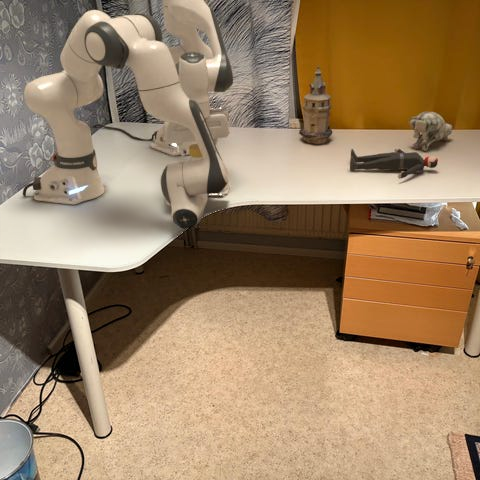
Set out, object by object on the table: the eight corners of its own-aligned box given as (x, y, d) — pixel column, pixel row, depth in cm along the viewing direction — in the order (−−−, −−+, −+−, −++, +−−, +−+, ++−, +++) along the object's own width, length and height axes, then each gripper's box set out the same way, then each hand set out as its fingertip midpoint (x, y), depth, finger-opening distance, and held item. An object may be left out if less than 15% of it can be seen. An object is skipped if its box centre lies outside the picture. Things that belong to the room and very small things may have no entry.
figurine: (439, 162, 206) (463, 135, 215) (427, 119, 197) (453, 93, 206) (416, 162, 213) (441, 135, 222) (404, 120, 204) (430, 94, 213)
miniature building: (320, 132, 228) (325, 59, 214) (338, 142, 217) (344, 66, 203) (293, 137, 224) (296, 63, 209) (310, 147, 213) (314, 69, 198)
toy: (351, 141, 203) (434, 141, 197) (350, 156, 206) (432, 157, 200) (349, 166, 181) (443, 167, 175) (349, 183, 184) (441, 185, 178)
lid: (208, 155, 167) (208, 148, 165) (191, 157, 165) (190, 150, 164) (204, 150, 171) (204, 143, 170) (188, 151, 170) (187, 144, 169)
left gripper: (227, 186, 159) (231, 169, 171) (159, 185, 160) (168, 168, 172) (228, 205, 162) (231, 187, 174) (161, 204, 163) (169, 186, 175)
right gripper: (225, 103, 167) (226, 146, 174) (160, 110, 161) (164, 154, 168) (231, 109, 162) (232, 152, 168) (164, 116, 156) (168, 161, 163)
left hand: (199, 177), depth 173 cm, fingers closed on jar, 5 cm apart
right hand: (197, 153), depth 168 cm, fingers open, 8 cm apart
